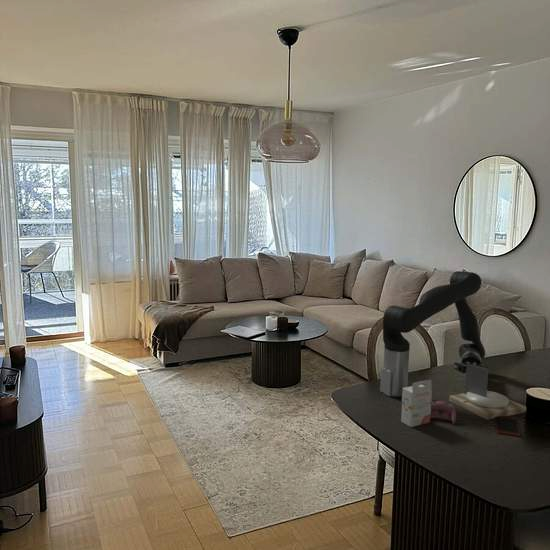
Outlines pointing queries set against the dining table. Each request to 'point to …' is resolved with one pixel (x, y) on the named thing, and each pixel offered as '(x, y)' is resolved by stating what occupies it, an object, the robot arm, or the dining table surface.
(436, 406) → the video game controller
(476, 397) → the grey panel on disc
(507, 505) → the dining table surface
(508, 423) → the smartphone
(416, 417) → the ink cartridge box
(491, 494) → the dining table surface
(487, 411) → the dial base
